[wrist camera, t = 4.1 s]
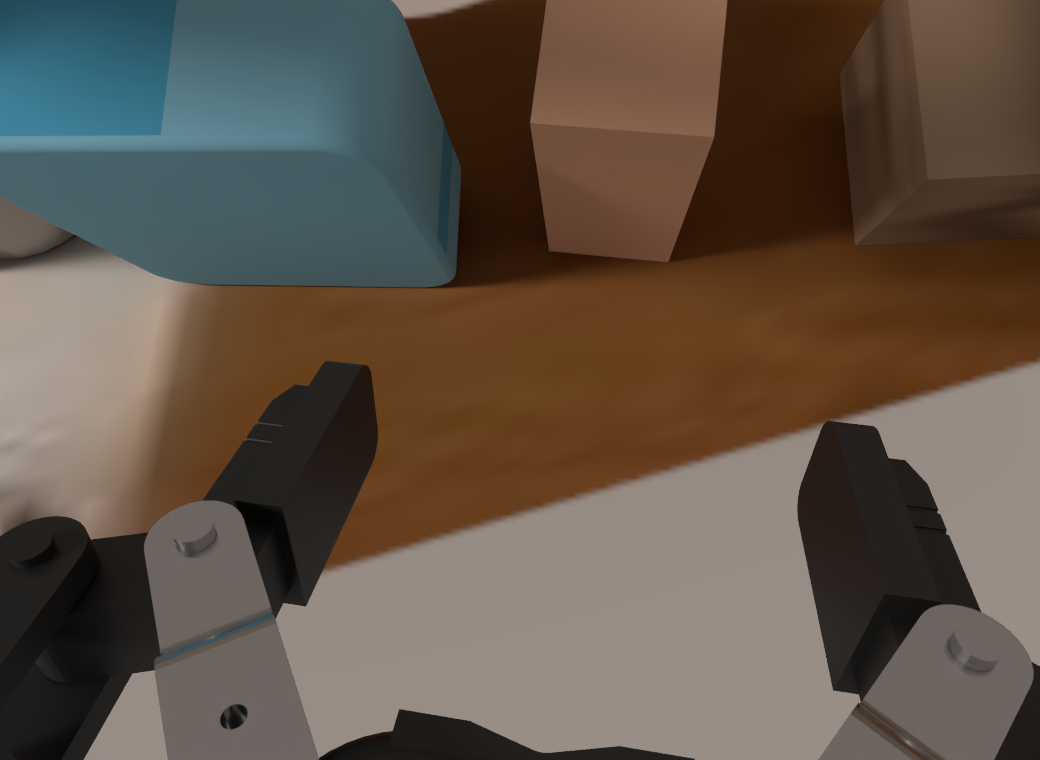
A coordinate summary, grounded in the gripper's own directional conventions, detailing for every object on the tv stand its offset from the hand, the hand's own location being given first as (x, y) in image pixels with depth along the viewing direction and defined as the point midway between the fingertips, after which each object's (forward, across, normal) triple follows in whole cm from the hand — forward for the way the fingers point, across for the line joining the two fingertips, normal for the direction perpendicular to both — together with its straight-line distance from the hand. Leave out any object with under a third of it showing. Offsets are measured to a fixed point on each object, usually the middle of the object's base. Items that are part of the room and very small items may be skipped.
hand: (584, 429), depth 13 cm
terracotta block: (+17, 0, +3) cm, 17 cm away
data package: (+16, +12, +5) cm, 20 cm away
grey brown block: (+20, -13, +1) cm, 24 cm away
